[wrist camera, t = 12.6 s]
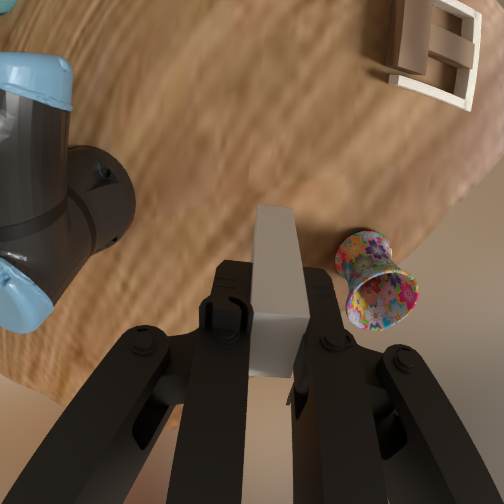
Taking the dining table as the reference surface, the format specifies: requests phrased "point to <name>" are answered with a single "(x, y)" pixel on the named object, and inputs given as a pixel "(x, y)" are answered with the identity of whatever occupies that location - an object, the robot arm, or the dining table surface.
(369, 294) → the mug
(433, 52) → the t block
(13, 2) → the cup
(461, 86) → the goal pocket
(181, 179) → the dining table surface
